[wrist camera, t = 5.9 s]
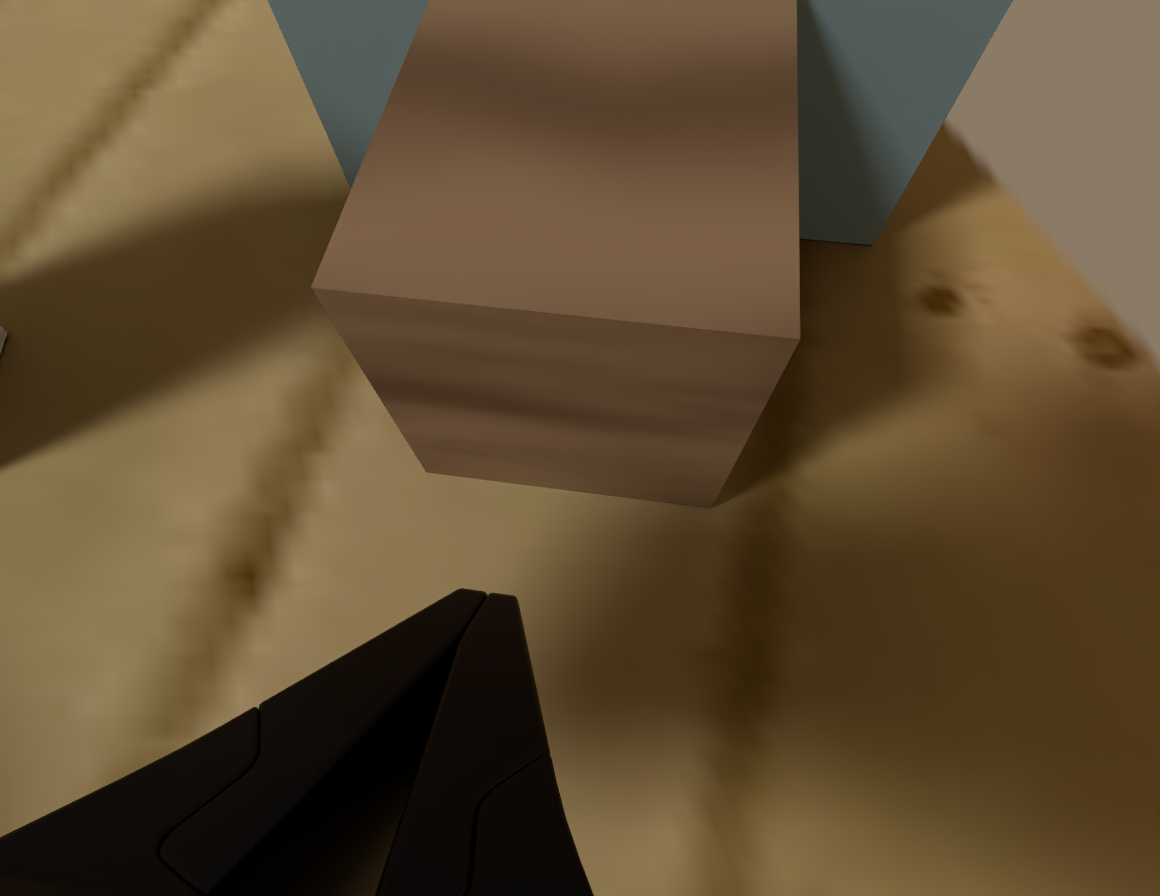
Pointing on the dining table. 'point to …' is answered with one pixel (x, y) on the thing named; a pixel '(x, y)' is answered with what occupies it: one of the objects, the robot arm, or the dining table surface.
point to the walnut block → (579, 241)
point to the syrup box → (2, 337)
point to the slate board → (824, 73)
